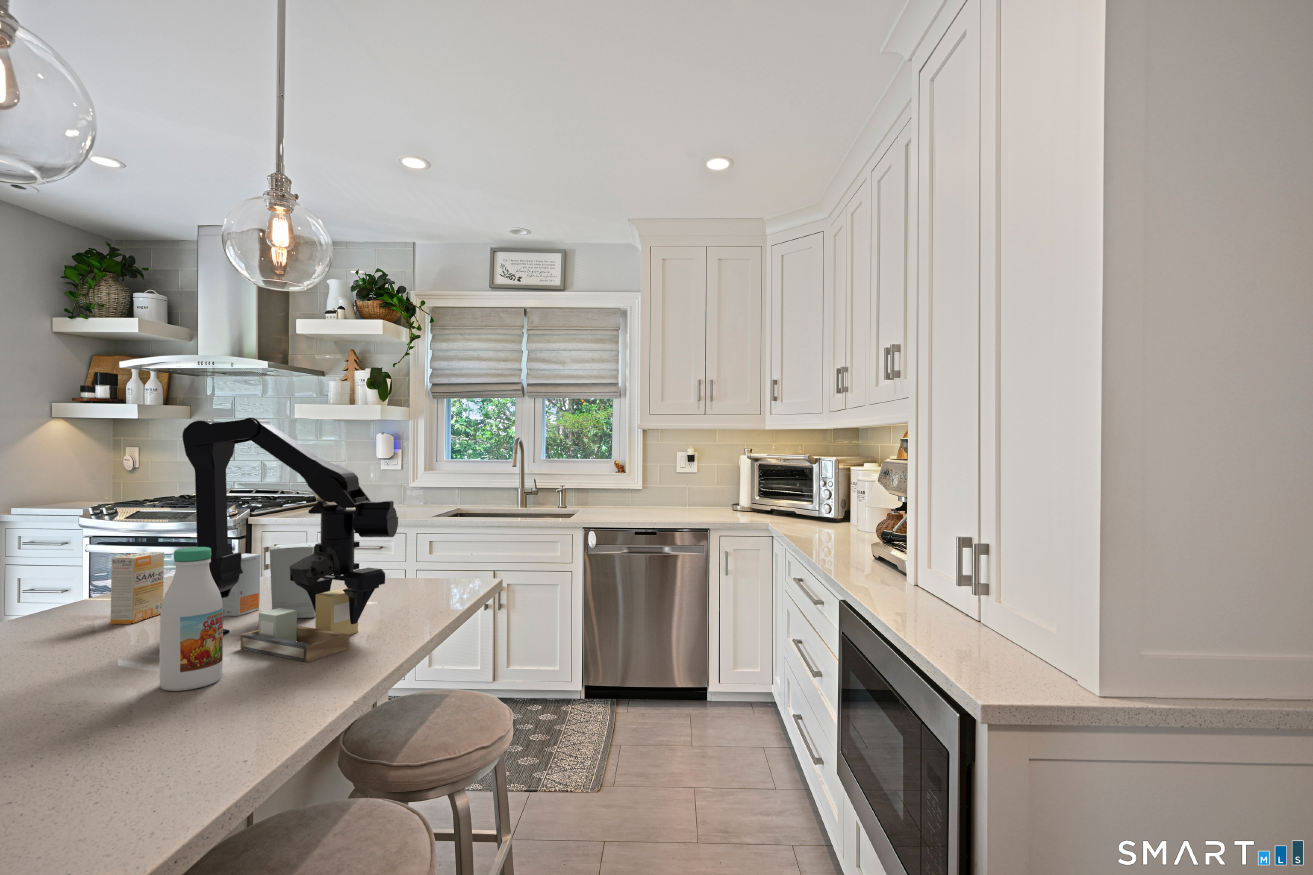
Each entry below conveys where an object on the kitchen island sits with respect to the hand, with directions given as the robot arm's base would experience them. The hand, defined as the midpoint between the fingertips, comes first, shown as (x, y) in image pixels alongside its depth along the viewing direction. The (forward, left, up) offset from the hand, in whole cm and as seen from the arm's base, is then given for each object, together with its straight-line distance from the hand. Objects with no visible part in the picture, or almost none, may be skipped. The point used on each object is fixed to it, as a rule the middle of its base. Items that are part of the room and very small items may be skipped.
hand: (337, 621), depth 125 cm
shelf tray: (+1, -9, -2) cm, 9 cm away
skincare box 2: (-19, +6, -3) cm, 20 cm away
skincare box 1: (-32, +3, -3) cm, 32 cm away
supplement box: (-46, -9, -3) cm, 47 cm away
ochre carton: (0, 0, -3) cm, 3 cm away
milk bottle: (+2, -27, -3) cm, 27 cm away
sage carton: (-4, -9, -3) cm, 10 cm away
